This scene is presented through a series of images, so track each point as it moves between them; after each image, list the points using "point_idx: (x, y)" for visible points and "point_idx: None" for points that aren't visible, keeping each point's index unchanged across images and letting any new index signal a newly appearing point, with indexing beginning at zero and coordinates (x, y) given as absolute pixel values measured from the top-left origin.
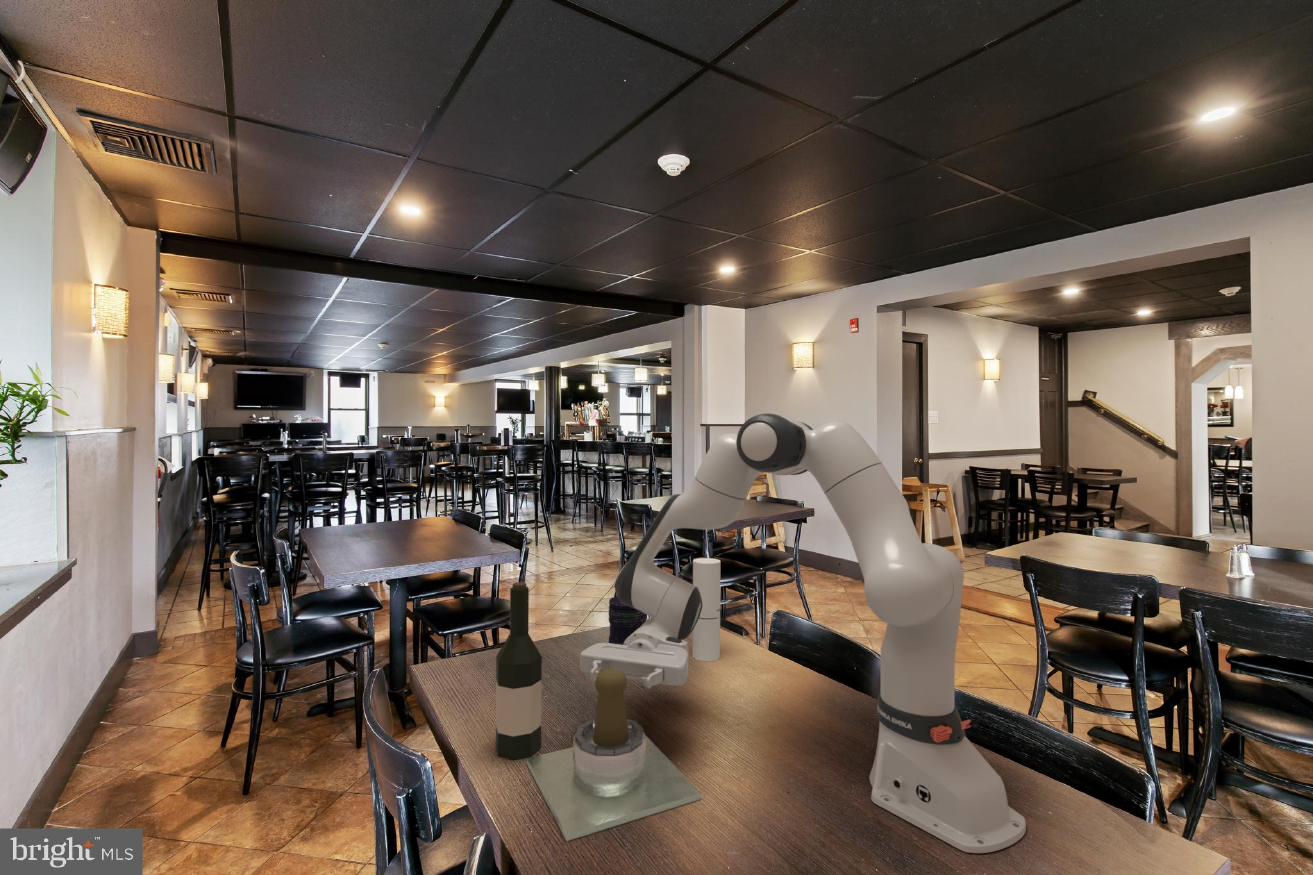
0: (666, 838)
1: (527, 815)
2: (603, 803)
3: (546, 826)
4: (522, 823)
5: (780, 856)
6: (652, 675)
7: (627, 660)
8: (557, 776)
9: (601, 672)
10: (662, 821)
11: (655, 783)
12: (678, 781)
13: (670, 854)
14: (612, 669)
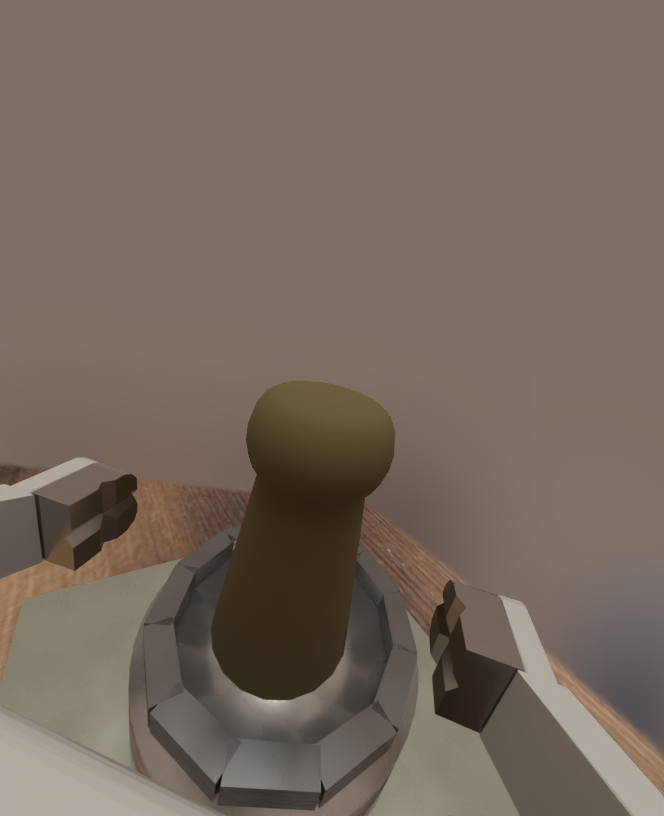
0: (179, 518)
1: (415, 583)
2: None
3: None
4: (411, 566)
5: (17, 476)
6: (11, 489)
7: (129, 777)
8: (419, 695)
9: (376, 406)
10: (169, 551)
11: (132, 649)
12: (48, 658)
13: (185, 496)
14: (329, 404)
